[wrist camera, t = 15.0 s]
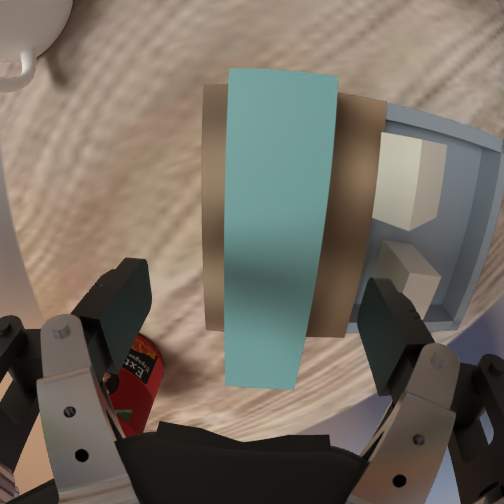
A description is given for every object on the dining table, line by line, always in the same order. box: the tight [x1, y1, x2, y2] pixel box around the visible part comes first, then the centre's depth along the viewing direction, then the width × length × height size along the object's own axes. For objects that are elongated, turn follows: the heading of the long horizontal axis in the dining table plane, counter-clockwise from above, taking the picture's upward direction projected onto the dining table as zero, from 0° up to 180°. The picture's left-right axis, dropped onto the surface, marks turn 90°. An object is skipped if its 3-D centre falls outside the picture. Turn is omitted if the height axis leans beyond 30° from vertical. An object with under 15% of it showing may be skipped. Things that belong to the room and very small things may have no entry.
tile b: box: [372, 240, 441, 320], centre depth 19 cm, size 5×5×2 cm
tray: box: [346, 103, 504, 333], centre depth 19 cm, size 16×11×3 cm
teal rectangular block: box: [224, 68, 338, 390], centre depth 15 cm, size 16×4×5 cm, turn 177°
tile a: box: [372, 132, 447, 231], centre depth 16 cm, size 5×5×2 cm
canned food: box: [103, 335, 163, 437], centre depth 23 cm, size 8×8×11 cm
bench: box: [202, 84, 387, 338], centre depth 19 cm, size 16×10×4 cm, turn 177°
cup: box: [0, 0, 73, 92], centre depth 10 cm, size 8×12×10 cm
